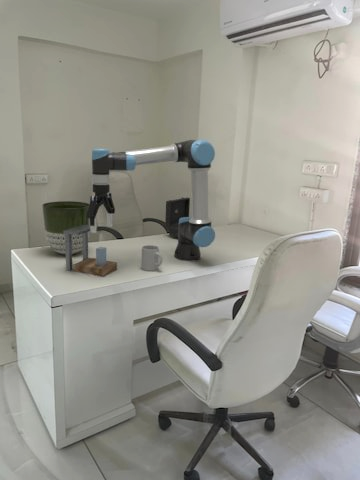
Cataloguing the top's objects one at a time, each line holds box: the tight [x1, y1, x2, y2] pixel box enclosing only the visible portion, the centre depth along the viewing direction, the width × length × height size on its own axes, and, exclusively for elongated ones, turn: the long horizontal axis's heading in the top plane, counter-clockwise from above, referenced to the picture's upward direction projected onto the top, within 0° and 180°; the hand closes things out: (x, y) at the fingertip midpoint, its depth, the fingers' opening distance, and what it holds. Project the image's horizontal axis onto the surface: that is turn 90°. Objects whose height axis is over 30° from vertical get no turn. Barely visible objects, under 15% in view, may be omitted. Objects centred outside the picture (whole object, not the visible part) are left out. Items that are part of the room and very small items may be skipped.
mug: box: [140, 244, 163, 272], centre depth 182 cm, size 12×8×11 cm
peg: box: [95, 246, 107, 266], centre depth 175 cm, size 4×4×12 cm
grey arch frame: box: [63, 224, 99, 272], centre depth 177 cm, size 8×16×20 cm, turn 159°
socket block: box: [73, 257, 118, 278], centre depth 177 cm, size 16×12×4 cm
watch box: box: [164, 197, 191, 238], centre depth 256 cm, size 26×28×24 cm
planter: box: [41, 200, 90, 255], centre depth 200 cm, size 24×24×27 cm
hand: (101, 229), depth 171 cm, fingers open, 13 cm apart
